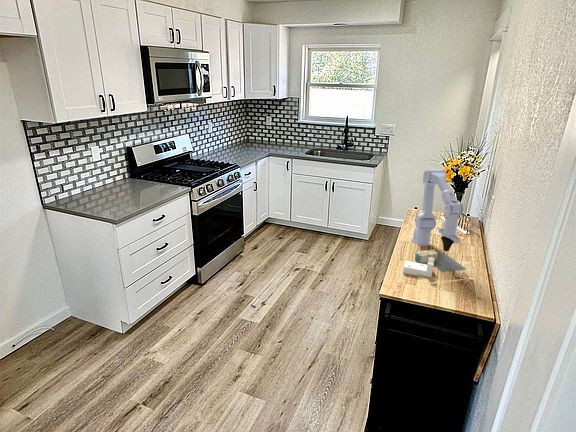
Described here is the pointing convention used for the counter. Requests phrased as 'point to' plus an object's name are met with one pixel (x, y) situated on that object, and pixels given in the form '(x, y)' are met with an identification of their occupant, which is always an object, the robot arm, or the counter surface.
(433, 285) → the counter surface
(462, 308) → the counter surface
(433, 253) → the tall block
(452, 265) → the mat
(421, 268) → the bracket
